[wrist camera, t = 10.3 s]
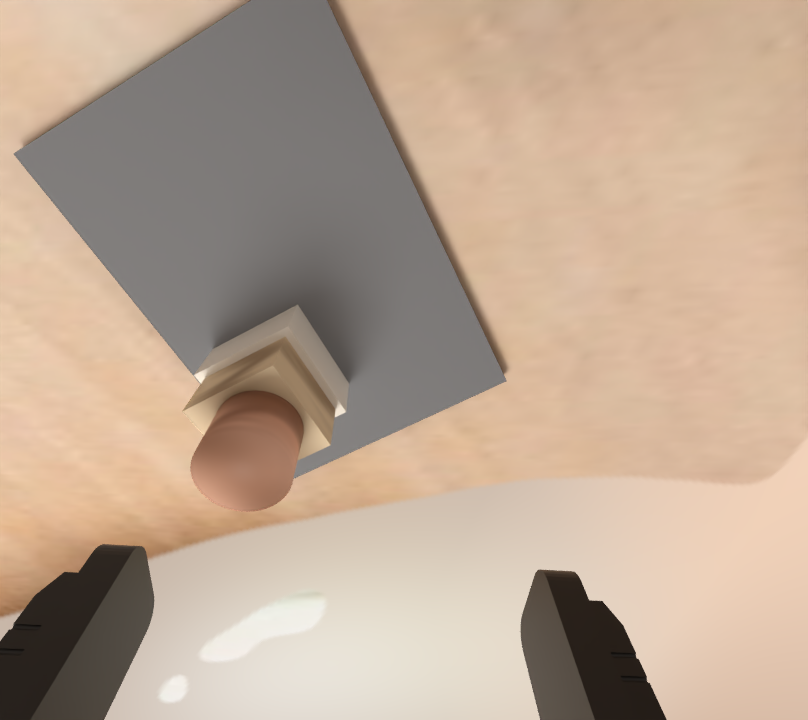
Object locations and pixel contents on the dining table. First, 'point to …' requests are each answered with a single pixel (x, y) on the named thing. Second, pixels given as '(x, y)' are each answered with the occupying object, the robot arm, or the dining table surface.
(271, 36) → the mat
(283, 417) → the terracotta cylinder
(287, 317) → the tower base block
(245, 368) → the tower top block
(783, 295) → the dining table surface
